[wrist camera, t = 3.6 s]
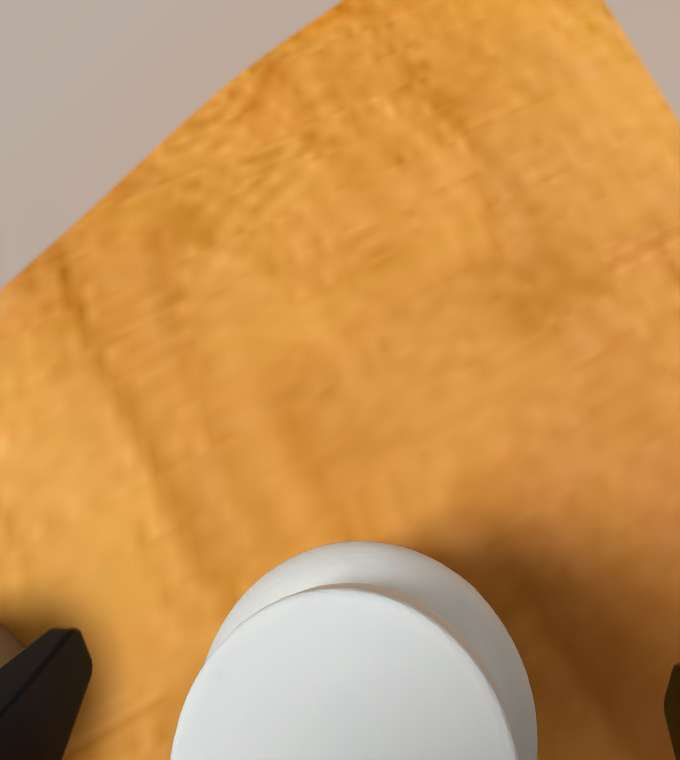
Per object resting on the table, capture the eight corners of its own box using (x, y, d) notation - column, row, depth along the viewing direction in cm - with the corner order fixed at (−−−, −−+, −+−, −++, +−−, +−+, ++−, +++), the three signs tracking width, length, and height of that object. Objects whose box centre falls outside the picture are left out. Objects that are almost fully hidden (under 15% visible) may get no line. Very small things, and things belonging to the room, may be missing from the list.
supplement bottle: (245, 664, 16) (13, 784, 7) (373, 510, 17) (314, 437, 8) (400, 828, 14) (361, 1265, 5) (533, 649, 15) (695, 762, 6)
